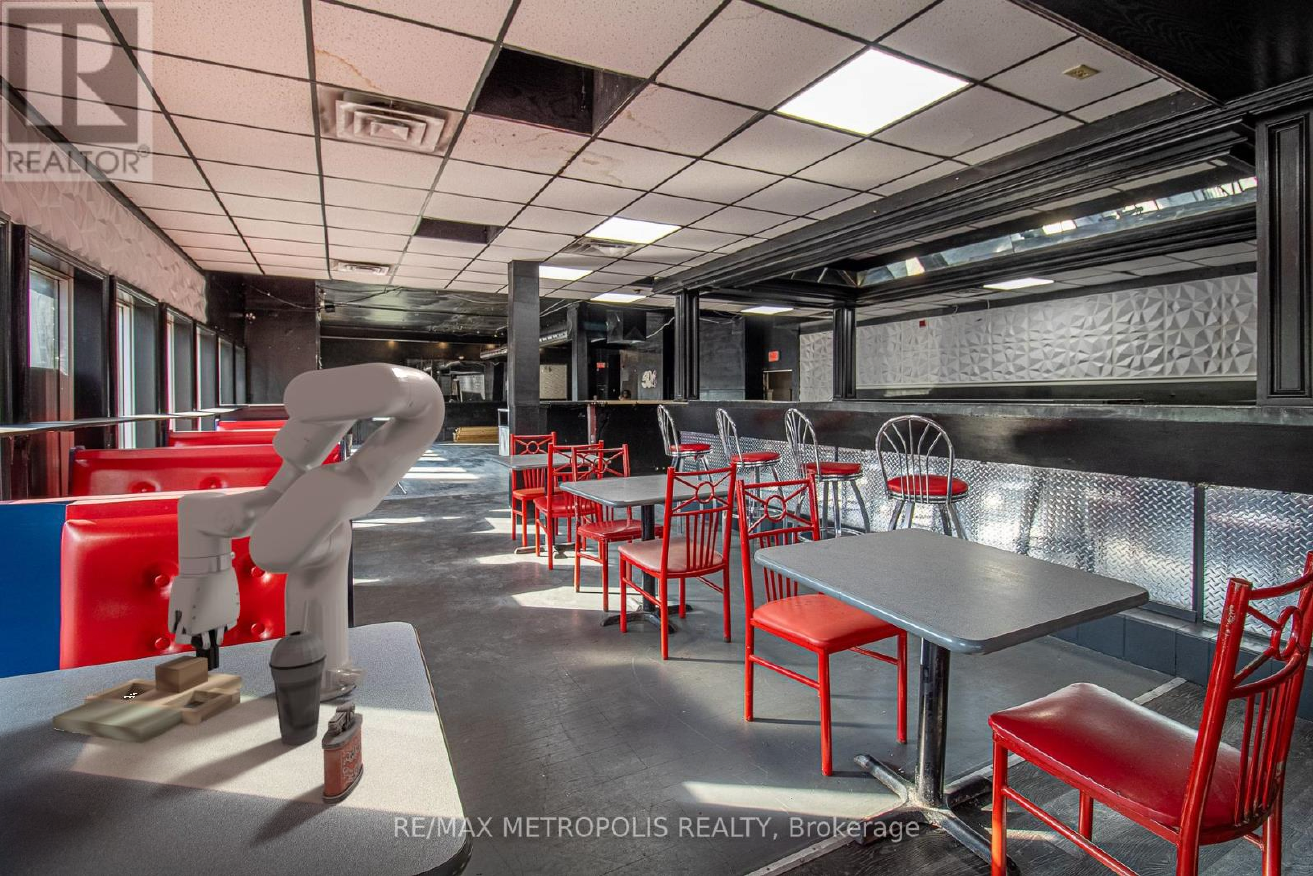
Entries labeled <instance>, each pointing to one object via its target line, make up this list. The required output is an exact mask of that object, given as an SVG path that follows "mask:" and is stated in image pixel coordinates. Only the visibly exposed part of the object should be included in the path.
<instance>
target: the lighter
mask: <svg viewBox="0 0 1313 876" xmlns="http://www.w3.org/2000/svg"><path fill="white" fill-rule="evenodd" d="M355 710H356V701H354V700H352V701H351V700H350V701H346V702H345V703H343V705H338V706H337V707H336V709H335V712H334V715H333V716H332V717H331V718H330V719H329V720H328V722H327V730H326V732H325V733H324V735H323V737H322V739H321V749H322V750H323V784H324V785H323V789H324V790H323V792H322V804H324V805H327V806H332V805H338V804H340V803H343V802H344V801H345V800H346V799H347V798H348V797H349V796H350V795H352V794H353V792H354V790H355V789H356V788H357V787H358V786H359V784H360V783H361V782H360V781H361V780H362V778H363V774H364V773H365V772H364V771H365V769H364V765H365V764H364V763H363V755H362V754H363V753H362V750H363V749H362V745H363V744H362V724H363V721H364V720H363V719H364V718H363V714H362V713H359V712H357V713H355Z"/></svg>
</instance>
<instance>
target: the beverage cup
mask: <svg viewBox="0 0 1313 876" xmlns="http://www.w3.org/2000/svg"><path fill="white" fill-rule="evenodd" d="M307 608H308V601H304V608H303V617H302V625H301V631H294V632H291V633H289V634H287V635H286V634H285V635H283V636H282V637H281V638H280V639H279V640H278V641H277V642H276V643H275V645H274V647H273V649H272V651H271V654H270V660H269V663H268V666H269V668H270V673H271V677H272V680H273V682H274V683H273V684H274V691H275V700H276V708H277V716H278V723H279V733H280V736H281V743H282V744H283V745H284V746H300V745H304V744H306V743H308V742H312V741H313V740H314V739H316V737H317V736H318V728H319V721H320V707H321V701H320V696H321V683H322V671H323V669H324V664H325V658H326V654H325V650H324V646H323V644H322V642H321V640H320V639H319V637H317V636H316V635H315V634H313V633H311V632H308V631H305V625H306V616H307Z"/></svg>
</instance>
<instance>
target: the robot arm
mask: <svg viewBox="0 0 1313 876" xmlns="http://www.w3.org/2000/svg"><path fill="white" fill-rule="evenodd" d="M283 406H284V409H285V411H286V413H287V415H288V416H289V417H288V419H287V420H286V421H285V422H284V424H283V425H282V426H281V428H280V429H279V430H278V431H277V432H276V433H275V435H274V436H273V439H272V447H273V449H274V451H275V452H276V453H277V455H278V456H279V457H280V458H282V461H283V462H282V464H281V467H280V468H279V470H278V471H277V473H276V474H275V475H274V476H273V478H271V480H270V481H268V483H267V485H266V486H265V487H264V488H263V489H256V490H250V491H245V492H240V493H234V494H226V493H224V492H219V491H217V492H216V491H210V492H208V491H207V492H195V493H194V492H193V493H189V494H185V495H182V496H180V497H179V500H178V501H177V535H178V536H177V537H178V538H177V540H178V544H177V545H178V575H176V576H175V575H174V576H173V580H172V583H171V589H170V593H169V601H168V613H167V615H168V617H167V618H168V619H167V625H168V626H167V627H168V632H169V633H170V634H172V635H173V634H174V635H175V637H174V644H176V645H190V646H191V648H192V649H195V657H202V658H207V661H208V672H212V671H213V670H216V669H218V668H220V645H221V644H222V643H223V640H224V637H225V634H226V633H227V632H228V631H230V630H231V629H232V628H235V626H237V625H238V621H237V619H239V616H240V612H241V611H240V610H241V605H240V604H241V603H240V602H241V601H240V591H239V583H238V578H237V574H236V571H235V567H233V564H232V563H233V562H232V561H233V560H234V559H235V558H236V554H235V552H234V551H232V540H237V539H243V538H248V537H249V543H248V551H249V555H250V558H251V560H252V562H253V563H254V564H255V565H256V567H258V568H259V569H261V570H262V571H264V572H266V573H270V574H276V575H280V574H281V575H284V574H286V578H285V579H286V580H285V586H284V618H285V619H284V623H285V635H287V634H289V633H291V632H294V631H301V625H302V617H303V608H304V601H308V608H307V616H306V625H305V631H308V632H311V633H313V634H315V635H316V636H317V637H319V639H320V640H321V642H322V644H323V646H324V650H325V654H326V658H325V664H324V669H323V671H322V683H321V696H320V702H325V701H328V700H331V699H335V698H338V697H340V696H344V695H345V694H347V693H349V692H350V690H351V691H352V690H353V689H355V688H356V687H360V686H361V685H362V683H363V681H364V678H365V677H366V676H367V670H366V669H362V668H355V659H354V658H349V653H350V652H349V610H348V608H349V607H348V606H349V605H348V602H349V601H348V597H349V596H348V588H349V587H348V575H349V574H348V571H349V570H348V569H349V562H350V561H349V559H350V554H351V547H352V540H353V538H352V537H353V531H352V525H351V522H350V520H354V519H356V518H360V517H363V516H365V515H368V514H370V513H371V512H372V511H374V510H375V509H376V508H377V507H378V506H379V505H380V504H381V502H382V501H383V500H384V499H385V498H386V496H388V495H389V494H390V492H391V491H392V490H393V489H394V488H395V487H396V486H397V484H399V483H400V482H401V480H403V478H405V476H406V475H407V473H408V472H409V471H410V470H411V469H412V467H414V465H416V463H417V462H419V460H420V459H421V458H422V457H423V456H424V455H425V453H426V452H427V451H428V450H429V448H431V446H432V445H433V443H435V440H437V438H438V436H439V435H440V432H441V430H442V427H443V426H444V425H443V424H444V421H445V420H444V419H445V414H446V413H445V412H446V411H445V410H446V406H445V399H444V396H443V393H442V390H441V387H440V386H439V384H438V383H437V381H436V380H435V379H434V377H432V376H431V375H429V374H428V373H427V372H425V371H422V370H421V369H419V368H418V369H417V368H414V367H409V366H403V365H399V364H398V365H397V364H394V363H393V364H392V363H385V362H368V363H362V364H355V365H354V364H353V365H348V366H340V367H339V366H338V367H333V368H326V369H324V368H323V369H319V370H310V371H305V372H303V373H300V374H298V375H297V376H296V377H294V378H293V379H292V380H291V381H290V382H289V383H288V385H287V386H286V388H285V391H284V394H283ZM374 418H389V419H388V420H387V421H386V422H385V423H384V424H383V425H381V426H380V427H379V428H377V429H376V430H375V431H373V432H372V433H371V434H370V435H369V436H368V437H367V438H366V440H365V441H364V442H363V443H362V444H361V445H360V446H359V447H358V448H357V449H356V451H354V452H353V453H352V455H350V456H349V457H348V458H346V459H345V460H343V461H339V462H334V463H333V462H332V463H327V464H325V463H324V461H325V460H326V459H327V458H328V457H329V455H330V454H331V453H332V451H333V450H334V449H335V448H336V446H337V445H338V444H339V442H341V440H342V439H343V438H344V437H345V436H346V435H347V433H348V432H349V431H350V429H352V427H353V426H354V424H356V422H357V420H365V419H374ZM323 463H324V464H323ZM355 686H356V687H355ZM354 687H355V688H354ZM348 691H349V692H348ZM337 696H338V697H337Z"/></svg>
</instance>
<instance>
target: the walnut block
mask: <svg viewBox="0 0 1313 876" xmlns="http://www.w3.org/2000/svg"><path fill="white" fill-rule="evenodd" d="M154 672H155V673H154V676H155V680H154V681H155V684H156V691H164V692H172V693H179V694H180V693H182V692H184V691H187V690H189V689H191V688H194V687H196V686H198V685H201V684H203V683H205V682H208V672H209V671H208V661H207V658H202V657H196V656H191V655H183V656H179V657H177V658H174V659H171V660H169V661H165V662H163V663H160V664H157V665H155V666H154Z"/></svg>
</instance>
